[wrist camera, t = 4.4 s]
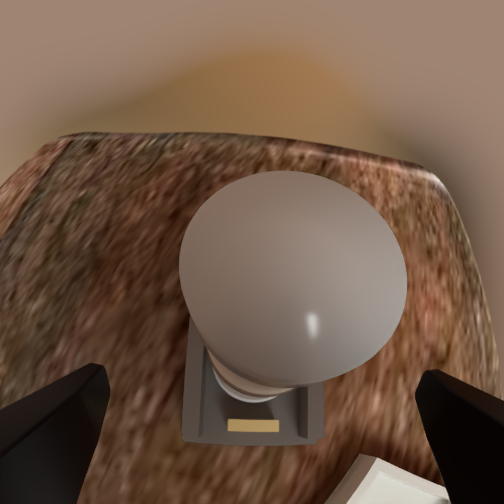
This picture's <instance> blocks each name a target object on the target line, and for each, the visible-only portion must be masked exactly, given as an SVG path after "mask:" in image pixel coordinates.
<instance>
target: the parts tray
mask: <svg viewBox="0 0 504 504" xmlns="http://www.w3.org/2000/svg"><path fill="white" fill-rule="evenodd" d="M324 504H451V503H450V500H449V497H448V494H447V491H446V488H445V487H442V486H440V485H437V484H435V483H432V482H430V481H428V480H425V479H423V478H421V477H418V476H416V475H414V474H411V473H409V472H407V471H405V470H403V469H400V468H398V467H396V466H394V465H392V464H390V463H388V462H386V461H384V460H382V459H380V458H377V457H373V456H368V455H364V454H360V453H359V455H358V456H357V458H356V460H355V461H354V463H353V464H352V466H351V467H350V469H349V470H348V471H347V473H346V474H345V476H344V477H343V479H342V480H341V481H340V483H339V484H338V486H337V487H336V488H335V490H334V491H333V492H332V494H331V495H330V496H329V498H328V499H327V500H326V502H325V503H324Z"/></svg>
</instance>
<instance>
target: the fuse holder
mask: <svg viewBox="0 0 504 504" xmlns="http://www.w3.org/2000/svg"><path fill="white" fill-rule="evenodd" d="M181 436H183V441H185V442H195V443H206V444H220V445H242V446H284V445H306V444H317V438H324V381H323V382H320V383H317V384H314V385H310V386H306V387H299V388H296V389H294V390H292V391H290V392H287V393H285V394H282V395H278V396H277V397H275V398H273V399H270V400H267V401H264V402H259V403H247V402H242V401H239V400H237V399H235V398H233V397H231V396H230V395H228V394H227V393H226V392H225V391H224V390H223V389H222V388H221V386H220V385H219V383H218V381H217V379H216V377H215V374H214V371H213V367H212V364H211V361H210V359H209V356H208V353H207V349H206V346H205V345H204V343H203V342H202V340H201V338H200V336H199V334H198V332H197V330H196V328H195V326H194V323H193V320H192V318H191V315H190V321H189V332H188V343H187V354H186V367H185V380H184V395H183V412H182V431H181Z"/></svg>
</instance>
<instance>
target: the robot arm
mask: <svg viewBox="0 0 504 504" xmlns="http://www.w3.org/2000/svg"><path fill="white" fill-rule="evenodd" d="M109 398H110V385H109V381H108V377H107V373H106V369H105V367H104V366H103V365H99V364H94V363H89V364H87V365H85V366H83V367H81V368H79V369H78V370H76V371H74V372H72V373H70V374H68V375H66V376H64V377H62V378H61V379H59V380H57V381H55V382H53V383H51V384H49V385H47V386H45V387H43V388H42V389H40V390H38V391H36V392H34V393H32V394H30V395H28V396H26V397H24V398H22V399H20V400H18V401H16V402H14V403H12V404H10V405H8V406H6V407H5V408H3V409H1V410H0V504H76V503H77V500H78V497H79V494H80V491H81V488H82V485H83V482H84V479H85V476H86V473H87V471H88V468H89V465H90V462H91V459H92V457H93V454H94V451H95V449H96V446H97V443H98V440H99V436H100V433H101V429H102V425H103V421H104V417H105V413H106V409H107V405H108V401H109ZM415 400H416V403H417V406H418V409H419V413H420V416H421V420H422V423H423V426H424V430H425V433H426V437H427V440H428V442H429V445H430V447H431V450H432V453H433V455H434V458H435V460H436V463H437V466H438V468H439V471H440V474H441V477H442V479H443V482H444V485H445V488H446V491H447V494H448V497H449V500H450V503H451V504H504V401H503V400H501V399H499V398H497V397H494V396H492V395H490V394H488V393H486V392H484V391H482V390H480V389H478V388H475V387H473V386H471V385H469V384H467V383H465V382H463V381H461V380H459V379H457V378H455V377H453V376H451V375H448V374H446V373H444V372H442V371H440V370H438V369H432V370H427V371H425V372H424V373H423V375H422V377H421V380H420V382H419V385H418V387H417V389H416V392H415Z"/></svg>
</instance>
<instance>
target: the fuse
mask: <svg viewBox="0 0 504 504" xmlns="http://www.w3.org/2000/svg"><path fill="white" fill-rule="evenodd" d="M179 276H180V283H181V288H182V292H183V295H184V298H185V302H186V305H187V307H188V310H189V313H190V315H191V318H192V320H193V323H194V326H195V328H196V330H197V332H198V334H199V336H200V338H201V340H202V342H203V343H204V345H205V346H206V349H207V353H208V356H209V359H210V361H211V364H212V367H213V371H214V374H215V377H216V379H217V381H218V383H219V385H220V386H221V388H222V389H223V390H224V391H225V392H226V393H227V394H228V395H230V396H231V397H233V398H235V399H237V400H239V401H242V402H247V403H259V402H264V401H267V400H270V399H273V398H275V397H277V396H278V395H282V394H285V393H287V392H290V391H292V390H294V389H296V388H299V387H306V386H310V385H314V384H317V383H320V382H323V381H326V380H328V379H331V378H334V377H336V376H339V375H341V374H344V373H346V372H348V371H350V370H352V369H354V368H356V367H358V366H360V365H362V364H363V363H365V362H366V361H367V360H369V359H370V358H372V357H373V356H374V355H375V354H376V353H377V352H378V351H379V350H380V349H381V348H382V347H383V346H384V345H385V344H386V343H387V341H388V340H389V339H390V337H391V336H392V335H393V333H394V331H395V329H396V327H397V325H398V323H399V321H400V318H401V316H402V313H403V310H404V305H405V301H406V293H407V276H406V268H405V263H404V258H403V255H402V252H401V249H400V246H399V244H398V242H397V240H396V238H395V236H394V234H393V232H392V231H391V229H390V227H389V226H388V224H387V223H386V222H385V220H384V219H383V218H382V217H381V215H380V214H379V213H378V212H377V211H376V210H375V209H374V208H373V207H372V206H371V205H370V204H369V203H368V202H367V201H365V200H364V199H363V198H362V197H360V196H359V195H358V194H356V193H355V192H353V191H352V190H350V189H348V188H346V187H345V186H343V185H341V184H339V183H337V182H334V181H332V180H329V179H327V178H324V177H321V176H317V175H314V174H309V173H304V172H296V171H271V172H263V173H258V174H254V175H250V176H247V177H244V178H241V179H238V180H236V181H234V182H232V183H230V184H228V185H226V186H225V187H223V188H222V189H220V190H218V191H217V192H216V193H215V194H213V195H212V196H211V197H210V198H209V199H207V200H206V202H205V203H204V204H203V205H202V206H201V207H200V208H199V209H198V211H197V212H196V214H195V215H194V217H193V218H192V219H191V221H190V223H189V225H188V227H187V230H186V232H185V235H184V238H183V241H182V244H181V250H180V256H179Z"/></svg>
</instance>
